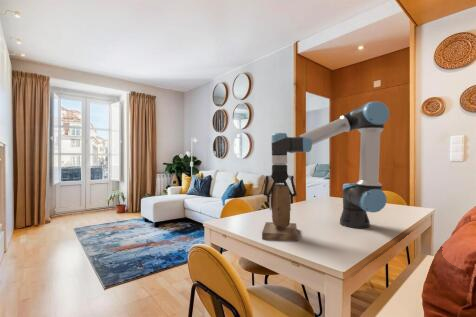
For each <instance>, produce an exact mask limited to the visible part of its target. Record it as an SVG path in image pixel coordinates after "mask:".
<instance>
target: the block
mask: <svg viewBox="0 0 476 317" xmlns="http://www.w3.org/2000/svg"><path fill="white" fill-rule="evenodd" d="M289 188H290V186H289V185H288V186H285V185H284V183H276V184H275V186H274V188H273V190H272V192H271V194H270V196H271V218H272V219H271V221H272V222H273V224H274V225H275V226H277V227H287V226H289V223H291V211H290V194H289Z"/></svg>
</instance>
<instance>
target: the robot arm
mask: <svg viewBox="0 0 476 317" xmlns="http://www.w3.org/2000/svg"><path fill="white" fill-rule="evenodd" d="M389 118H390V110H389V107H388V106H387V105H386V104H385V103H383V102H381V101H376V100H375V101H370V102H366V103H364V104H362V105H360V106H357V107H355V108H354V109H352V110H351V111H348V112H347V113H344V114H343V115H340V116H339V118H337V119H336V120H334V121H331V122H328V123H326V124H323V125H321V126H318V127H316V128H314V129H311V130H309V131H307V132H305V133H302V134H300V135H298V136H294V137H293V136H292V137H291V136H290V137H289V136H288V134H287V133H286V132H277V133H276V132H275V133H273V134H271V164H272V165H271V174H270V175H266V176H265V185H264V190H263V194H262V195H263V196H265V197H266V203H267V204H269V211H272V207H271V192H272V190H273V188H274V186H275V185H276V184H284V185H285V186H289V185H288V183H287V180H288V179H289V180H290V183H291V187H292V188H290V187H289V194H290V212H291V211H292V210H291V209H292V208H291V207H292V206H291V204H292V205H293V204H294V197H297V191H296V190H297V189H296V186H295V182H294V179H295V177H294V175H289V173H288V165H287V164H288V153H290V154H294V153H310V152H311V150H312V148H313V146H314V145H315V144H318V143H321V142H323V141H325V140H328V139H330V138H333V137H335V136H337V135H340V134H342V133H344V132H346V133H349V132H351V131H355V130H357V131H358V132H359V133H360V144H359V146H360V147H359V148H360V149H359V151H360V152H359V174H358V175H359V176H358V177H359V179H358V181H356V182H355V183H354V182H353V183H351V182H350V183H344V184H343V185H342V212H341V214H340V218H339V224H340V225H342V226H344V227H347V228H354V229H366V228H367V229H368V228H369V227H370V226H371V224H370V223H371V222H370V219H369V216H368V213H377V212H380V211H382V210H383V209H384V208H385V206H386V205H387V194H385V193H384V191H383V185H382V183H381V182H379V178H380V177H379V176H380V150H381V148H380V147H381V144H380V143H381V133H382V132H383V131H384V130H385V123H387V121H388V120H389ZM271 179H272V181H273V182H272V184H271V186H270V188H269V190H268V187H269V182H270V180H271ZM291 189H292V190H291Z"/></svg>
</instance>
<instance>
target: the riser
mask: <svg viewBox="0 0 476 317" xmlns="http://www.w3.org/2000/svg"><path fill="white" fill-rule="evenodd" d="M297 227H298V226H297V223H294V222H289V226H287V227H277V226H275V225H274V224H273V221H272V222H270V221H266V222H265V224H264V226H263V229H262V231H261V240H270V241H271V240H274V241H291V242H298V229H297Z"/></svg>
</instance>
